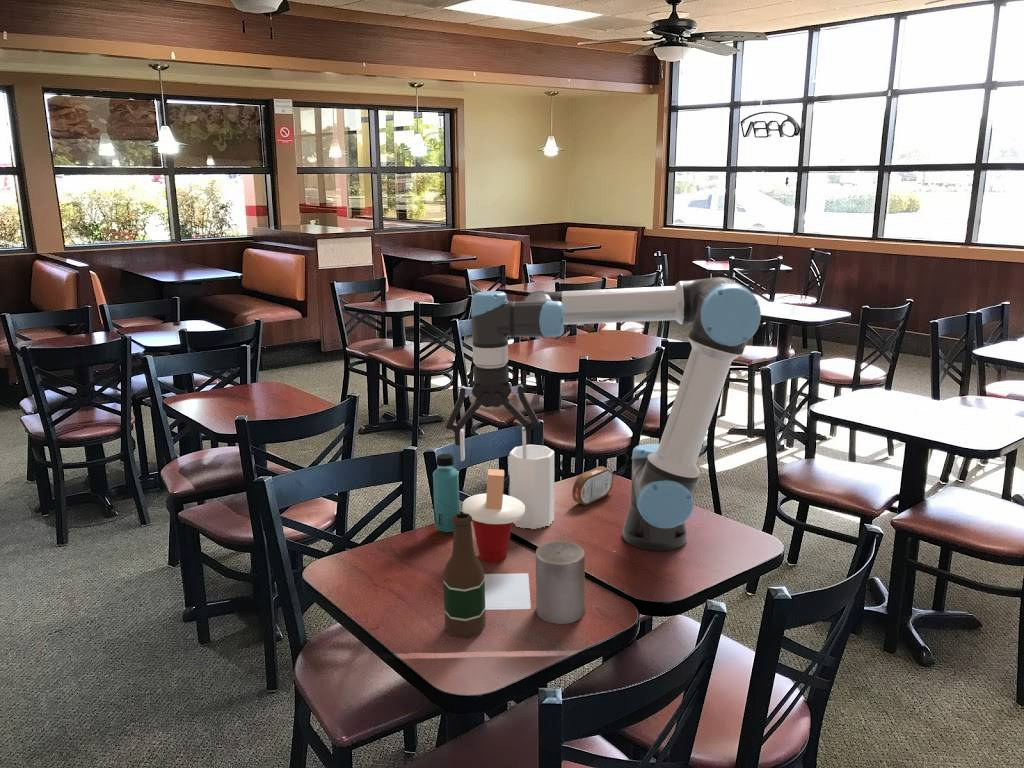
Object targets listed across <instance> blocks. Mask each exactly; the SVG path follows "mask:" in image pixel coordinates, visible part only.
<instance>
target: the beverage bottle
mask: <svg viewBox="0 0 1024 768" xmlns="http://www.w3.org/2000/svg"><path fill="white" fill-rule="evenodd" d="M454 463H455V462H454V455H453V454H450V453H441V454H438V455H437V456H436V463H435V464H436V466H438V467H437V468H436V469H435V470H434V471H433V472H432V478H433V479H432V480H433V482H432V483H433V484H432V485H433V487H432V488H433V491H432V492H433V506H434V509H433V511H434V517H433V518H434V521H433V522H434V526H435V529H436V530H437V531H440V532H444V533H445V532H446V533H449V532H454V523H453V522H452V520H453V517H454V516H455V515H456V514H459V513H461V507H460V506H461V504H460V489H459V488H460V486H459V484H460V483H459V474H460V472H459V471H458V469H456V468H455V467H453V465H454Z"/></svg>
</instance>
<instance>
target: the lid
mask: <svg viewBox="0 0 1024 768" xmlns="http://www.w3.org/2000/svg"><path fill="white" fill-rule="evenodd" d="M504 484H505V470H504V469H497V468H496V469H495V468H494V469H493V468H488V469H487V481H486V493H485V492H484V493H477V494H474V495H471V496H469V497H467V498H465V499H464V500H463V502H462V509H461V510H462V513H467V514H469V515H471V517H472V520H475V521H478V522H481V523H487V524H507V523H512V522H516V521H518V520H520V519H521V518H522V517H523V516H524V514H525V505H524V504H523V503H522V502H521V501H520V500H518V499H516V498H514V497H511V496H510V495H507V494H504Z"/></svg>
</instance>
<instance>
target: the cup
mask: <svg viewBox="0 0 1024 768" xmlns="http://www.w3.org/2000/svg"><path fill="white" fill-rule="evenodd" d="M508 454H509V456H508V457H509V458H508V459H509V496H511V497H514V498H516V499H518V500H520V501H521V502H522V503H523V504H524V505H525V514H524V516H523V517H522V518H521V519H520V520H518V521H516V522H514V524H515V527H517V528H518V527H520V528H519V529H525V528H531V529H530V530H533V529H535V530H537V529H536V528H539V529H542V528H541V527H544V528H546V527H545V526H548V527H550V526H551V525H552V523H553V522H554V521H555V451H554V449H551V448H549V447H548V446H546V445H541V444H539V445H537V444H526V459H523V447H522V445H520V446H515V447H514V448H512V450H511V451H510V452H509V453H508ZM552 521H553V522H552ZM514 524H513V525H514ZM550 524H551V525H550Z"/></svg>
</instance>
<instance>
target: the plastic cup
mask: <svg viewBox="0 0 1024 768" xmlns="http://www.w3.org/2000/svg"><path fill="white" fill-rule="evenodd" d="M513 523H514V522H512V523H507V524H487V523H481V522H478V521H475V520H473V521H472V526H473V530H474V536H475V540H476V545H477V550H478V555H479V558H480V560H481V561H483V562H486V563H501V562H502V561H504V560H506V558H507V555H508V549H509V545H510V540H511V539H510V538H511V534H512V527H513V525H514V524H513Z"/></svg>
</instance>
